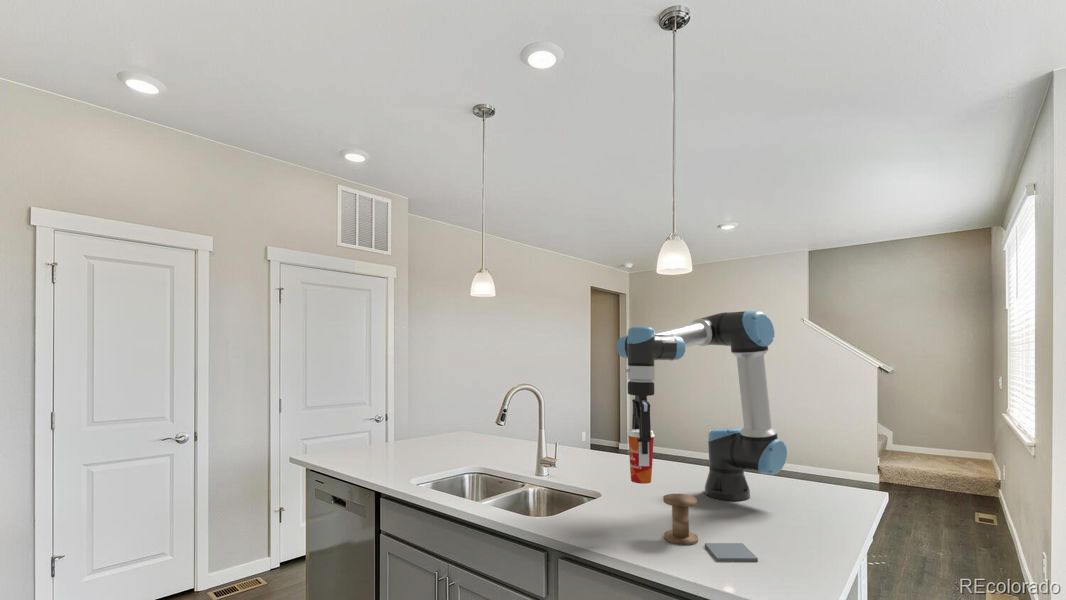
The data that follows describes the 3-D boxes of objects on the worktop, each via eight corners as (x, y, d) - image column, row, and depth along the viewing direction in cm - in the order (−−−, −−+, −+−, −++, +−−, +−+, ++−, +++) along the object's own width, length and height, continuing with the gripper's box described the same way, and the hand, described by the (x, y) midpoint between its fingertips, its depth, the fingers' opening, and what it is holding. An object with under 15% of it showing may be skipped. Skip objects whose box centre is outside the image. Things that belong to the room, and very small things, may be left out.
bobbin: (692, 533, 153) (691, 493, 153) (702, 545, 144) (701, 503, 144) (660, 533, 153) (660, 493, 153) (668, 545, 144) (667, 503, 144)
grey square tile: (742, 546, 143) (742, 543, 143) (757, 561, 133) (757, 558, 133) (704, 546, 143) (704, 543, 143) (717, 561, 133) (717, 558, 133)
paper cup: (624, 477, 155) (624, 428, 156) (650, 477, 156) (650, 428, 157) (631, 484, 147) (631, 432, 148) (658, 484, 148) (658, 432, 149)
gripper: (622, 378, 164) (622, 454, 162) (634, 383, 143) (634, 470, 142) (646, 378, 164) (647, 455, 162) (662, 383, 143) (662, 471, 141)
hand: (641, 462), depth 152 cm, fingers closed on paper cup, 8 cm apart
